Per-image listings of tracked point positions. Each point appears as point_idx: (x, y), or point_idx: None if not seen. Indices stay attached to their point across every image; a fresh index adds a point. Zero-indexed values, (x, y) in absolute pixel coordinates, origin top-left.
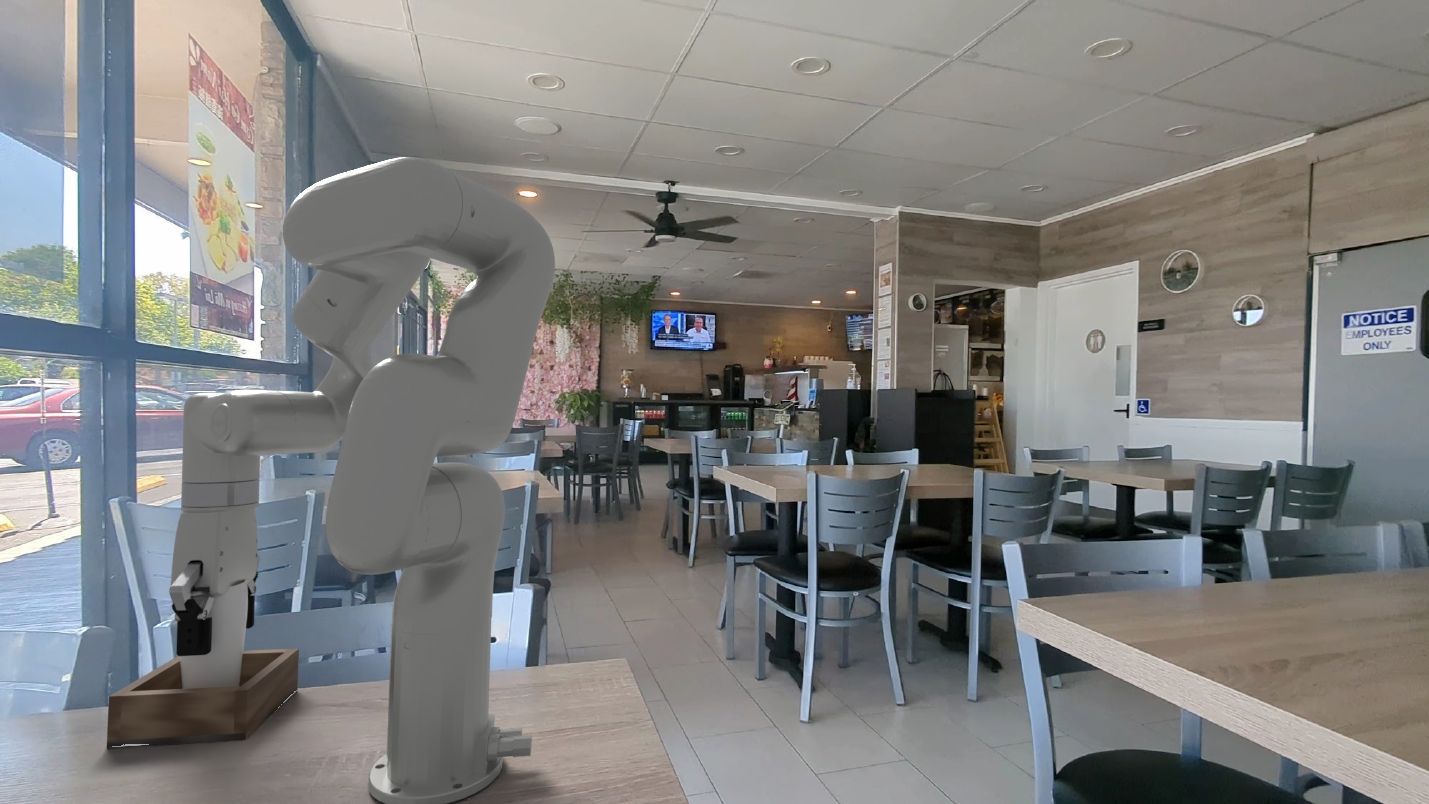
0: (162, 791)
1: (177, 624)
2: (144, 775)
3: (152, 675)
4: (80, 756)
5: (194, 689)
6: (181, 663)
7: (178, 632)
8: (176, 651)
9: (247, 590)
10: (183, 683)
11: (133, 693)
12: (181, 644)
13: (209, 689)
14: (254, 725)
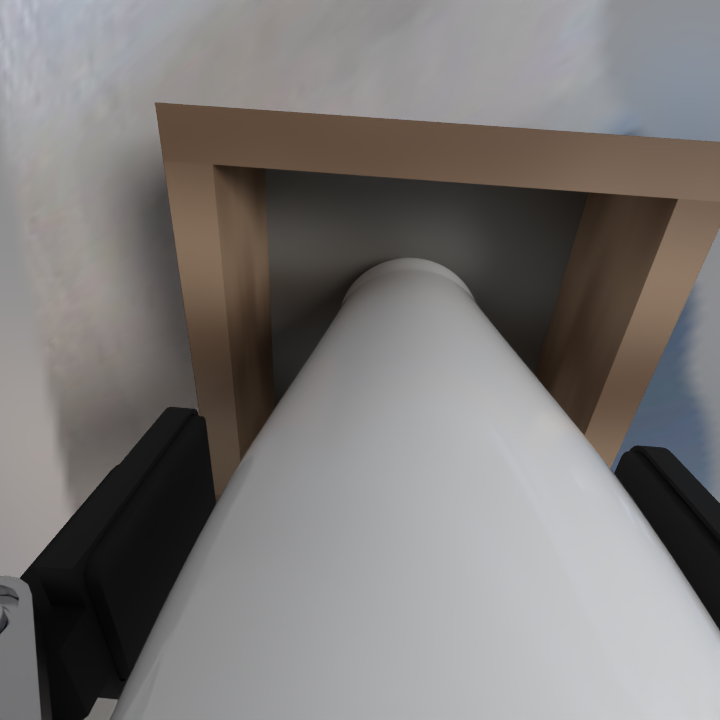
0: (47, 363)
1: (60, 536)
2: (100, 299)
3: (405, 161)
4: (188, 59)
5: (223, 392)
6: (330, 331)
7: (101, 495)
8: (161, 414)
9: None
10: (344, 306)
11: (187, 198)
12: (108, 475)
13: (221, 432)
14: None
